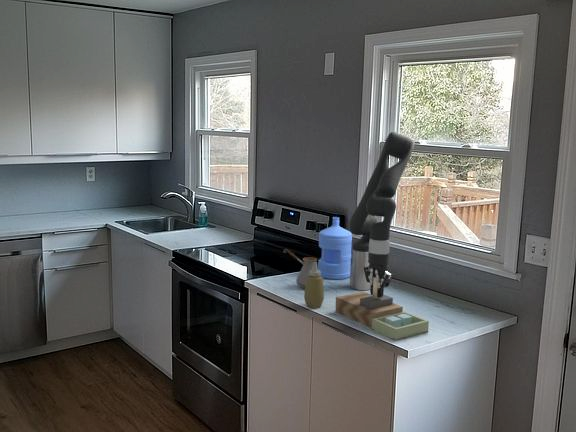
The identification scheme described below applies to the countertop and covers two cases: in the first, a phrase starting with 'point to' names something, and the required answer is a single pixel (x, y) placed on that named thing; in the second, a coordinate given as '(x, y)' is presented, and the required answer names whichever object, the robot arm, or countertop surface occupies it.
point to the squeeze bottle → (314, 288)
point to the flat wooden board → (363, 308)
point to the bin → (402, 332)
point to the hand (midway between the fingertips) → (376, 295)
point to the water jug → (335, 252)
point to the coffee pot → (303, 269)
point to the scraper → (375, 298)
